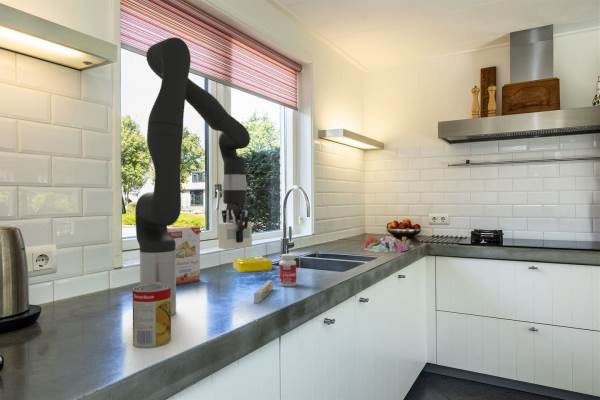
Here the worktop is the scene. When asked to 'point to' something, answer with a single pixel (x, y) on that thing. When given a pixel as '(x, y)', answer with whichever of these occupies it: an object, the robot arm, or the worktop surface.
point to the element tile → (252, 264)
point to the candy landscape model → (387, 244)
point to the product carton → (234, 236)
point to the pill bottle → (287, 270)
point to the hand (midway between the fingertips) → (235, 241)
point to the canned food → (151, 315)
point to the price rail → (263, 291)
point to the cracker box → (186, 253)
